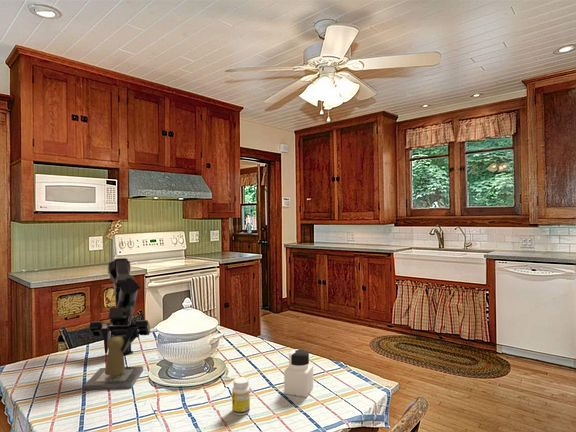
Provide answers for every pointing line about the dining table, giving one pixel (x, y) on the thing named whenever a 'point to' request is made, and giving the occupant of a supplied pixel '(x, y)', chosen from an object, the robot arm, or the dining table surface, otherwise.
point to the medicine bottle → (298, 374)
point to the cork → (115, 356)
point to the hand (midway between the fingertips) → (114, 352)
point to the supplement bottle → (241, 396)
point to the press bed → (114, 379)
